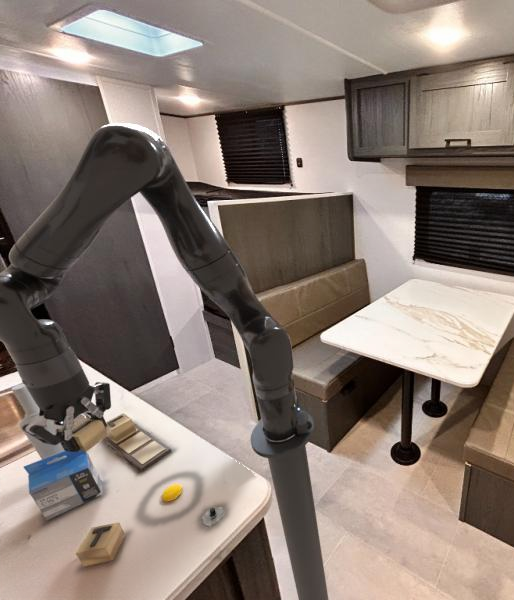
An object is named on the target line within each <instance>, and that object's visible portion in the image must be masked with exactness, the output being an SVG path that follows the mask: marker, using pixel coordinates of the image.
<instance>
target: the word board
mask: <svg viewBox="0 0 514 600" xmlns="http://www.w3.org/2000/svg"><path fill="white" fill-rule="evenodd" d="M133 423H134V422H133ZM134 425H135V428H136V431H134V432H132V433H131V434H129V435H127V436H125V437H124V438H122V439H120V440H119V441H117V442H116V441H115V440H114V439H113V438H111V437H110V436H109V435H108V436H106V437H105V438H104V439H102V441H104V442H105V443H106V444H108V445H109V446H110V447H111V448H112V449H114V450H115V451H116V452H118V453H119V454H120V456H123V457H124V459H126V460H127V461H129V462H130V463H131V464H132V465H134V466H135V467H136V468H138V469H139V470H140V471H141V472H144V471H146V470H147V469H148V468H150V467H152V466H153V465H154V464H155V463H157V462H159V461H160V460H161V459H163V458H164V457H166V456H167V455H168V454H170V453H172V448H171V447H170V446H168V445H167V444H165V443H163V442H162V441H161V440H159V439H158V438H156V437H155V436H153V435H152V434H150V433H149V432H147V431H146V430H145V429H143V428H142V427H141V426H139V425H137V424H136V423H134Z"/></svg>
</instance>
